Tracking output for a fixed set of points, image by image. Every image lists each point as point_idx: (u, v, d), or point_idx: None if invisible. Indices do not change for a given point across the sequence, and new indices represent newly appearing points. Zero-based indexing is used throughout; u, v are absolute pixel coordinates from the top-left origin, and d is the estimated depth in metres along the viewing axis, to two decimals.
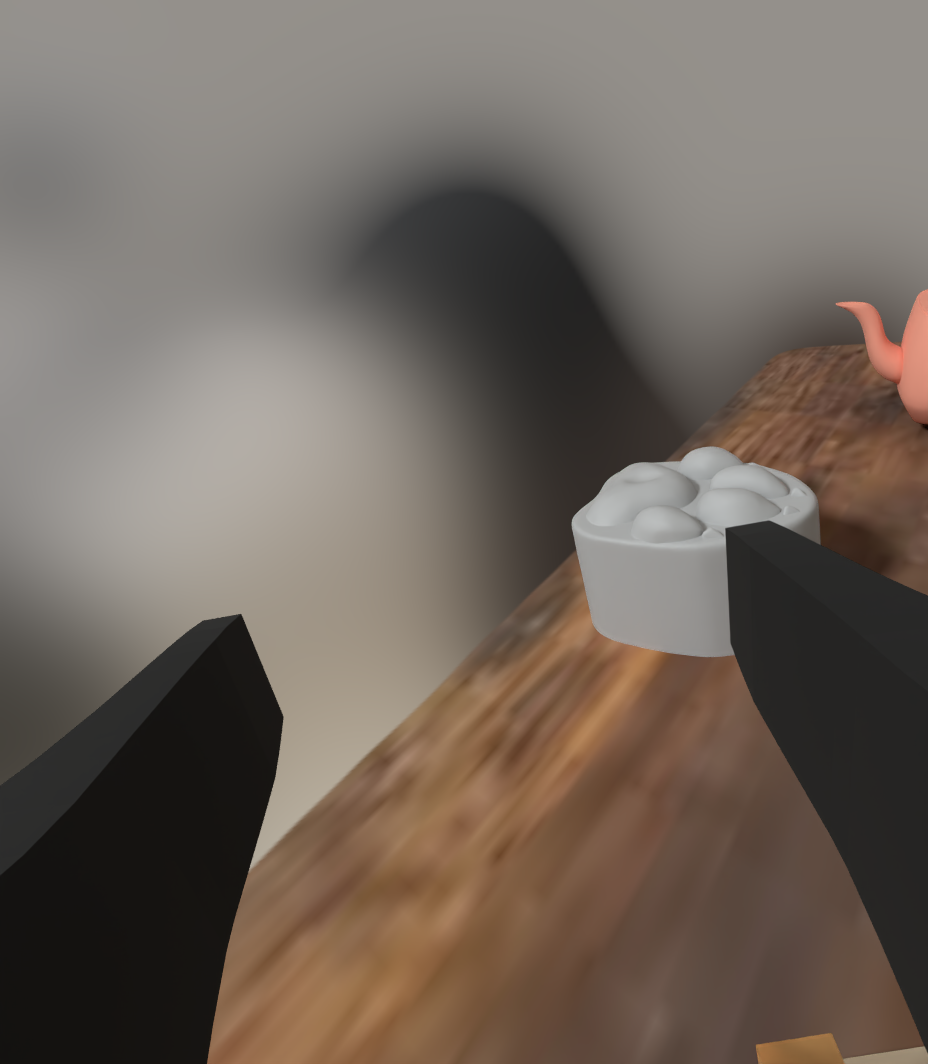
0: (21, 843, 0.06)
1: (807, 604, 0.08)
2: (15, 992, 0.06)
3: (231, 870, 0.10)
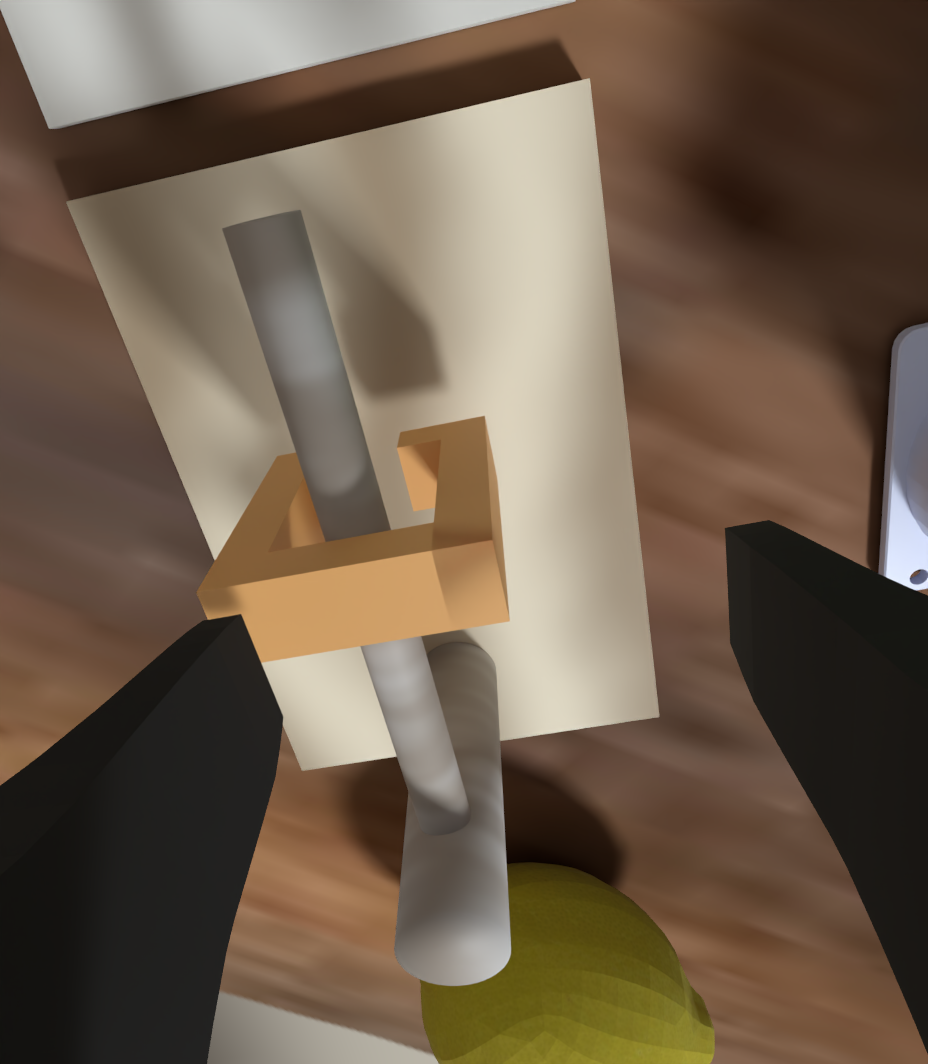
0: (21, 843, 0.06)
1: (807, 604, 0.08)
2: (15, 992, 0.06)
3: (231, 869, 0.10)
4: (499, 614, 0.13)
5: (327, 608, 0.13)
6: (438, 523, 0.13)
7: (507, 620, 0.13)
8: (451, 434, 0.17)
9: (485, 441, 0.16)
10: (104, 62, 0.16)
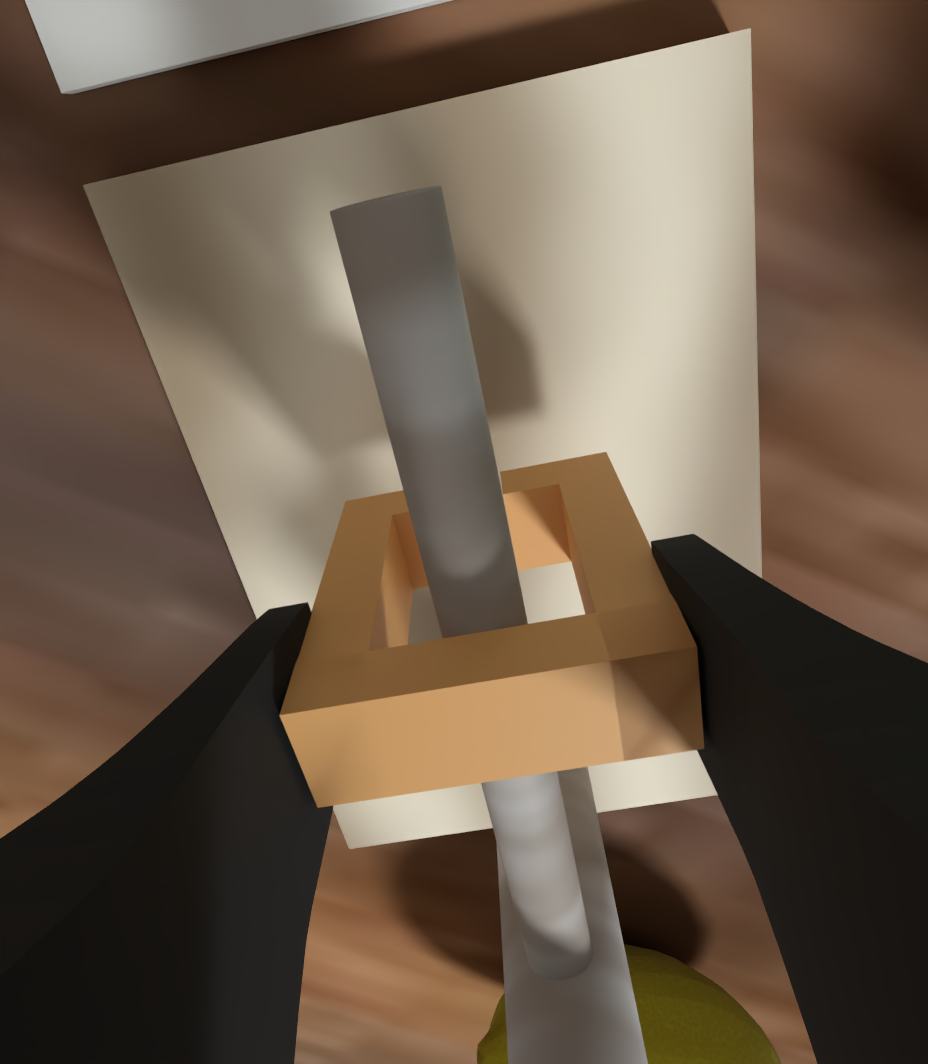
0: (133, 826, 0.06)
1: (710, 620, 0.08)
2: (137, 976, 0.06)
3: (308, 859, 0.10)
4: (691, 740, 0.09)
5: (457, 734, 0.09)
6: (603, 613, 0.10)
7: (700, 747, 0.09)
8: (570, 477, 0.13)
9: (621, 488, 0.12)
10: (132, 7, 0.13)
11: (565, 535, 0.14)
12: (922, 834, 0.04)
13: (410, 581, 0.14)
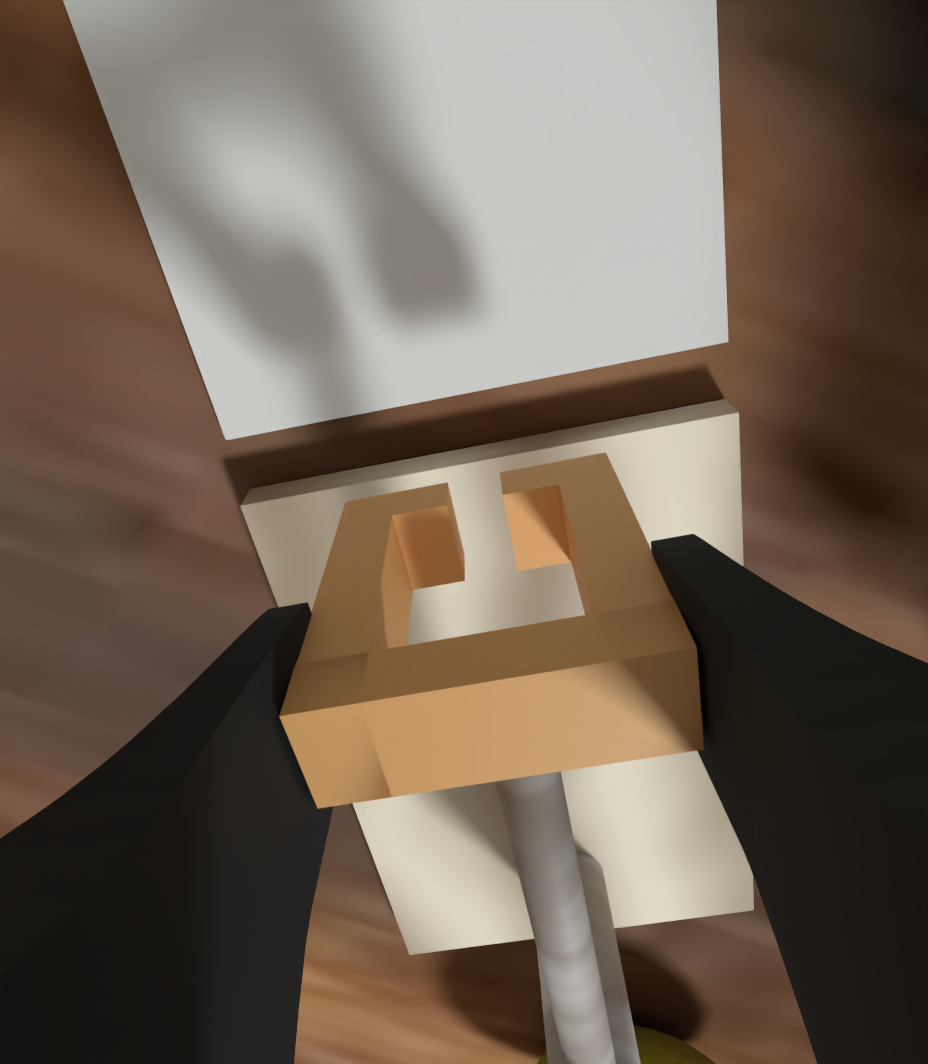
0: (133, 826, 0.06)
1: (710, 620, 0.08)
2: (138, 975, 0.06)
3: (308, 859, 0.10)
4: (691, 741, 0.09)
5: (457, 734, 0.09)
6: (602, 614, 0.10)
7: (701, 748, 0.09)
8: (570, 477, 0.13)
9: (621, 489, 0.12)
10: (284, 389, 0.18)
11: (565, 536, 0.14)
12: (922, 834, 0.04)
13: (410, 582, 0.14)
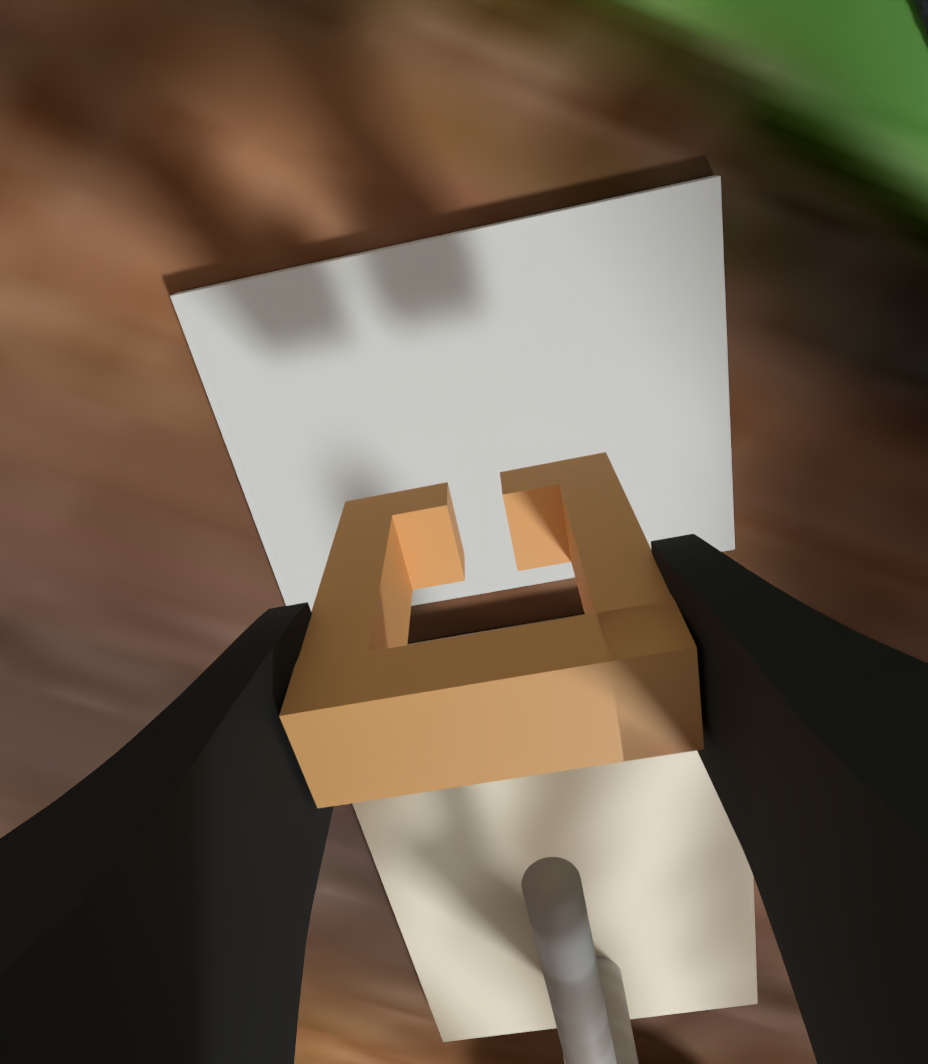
0: (133, 826, 0.06)
1: (710, 620, 0.08)
2: (137, 976, 0.06)
3: (308, 860, 0.10)
4: (691, 740, 0.09)
5: (457, 734, 0.09)
6: (602, 614, 0.10)
7: (700, 747, 0.09)
8: (570, 477, 0.13)
9: (621, 488, 0.12)
10: None
11: (565, 535, 0.14)
12: (922, 834, 0.04)
13: (410, 581, 0.14)
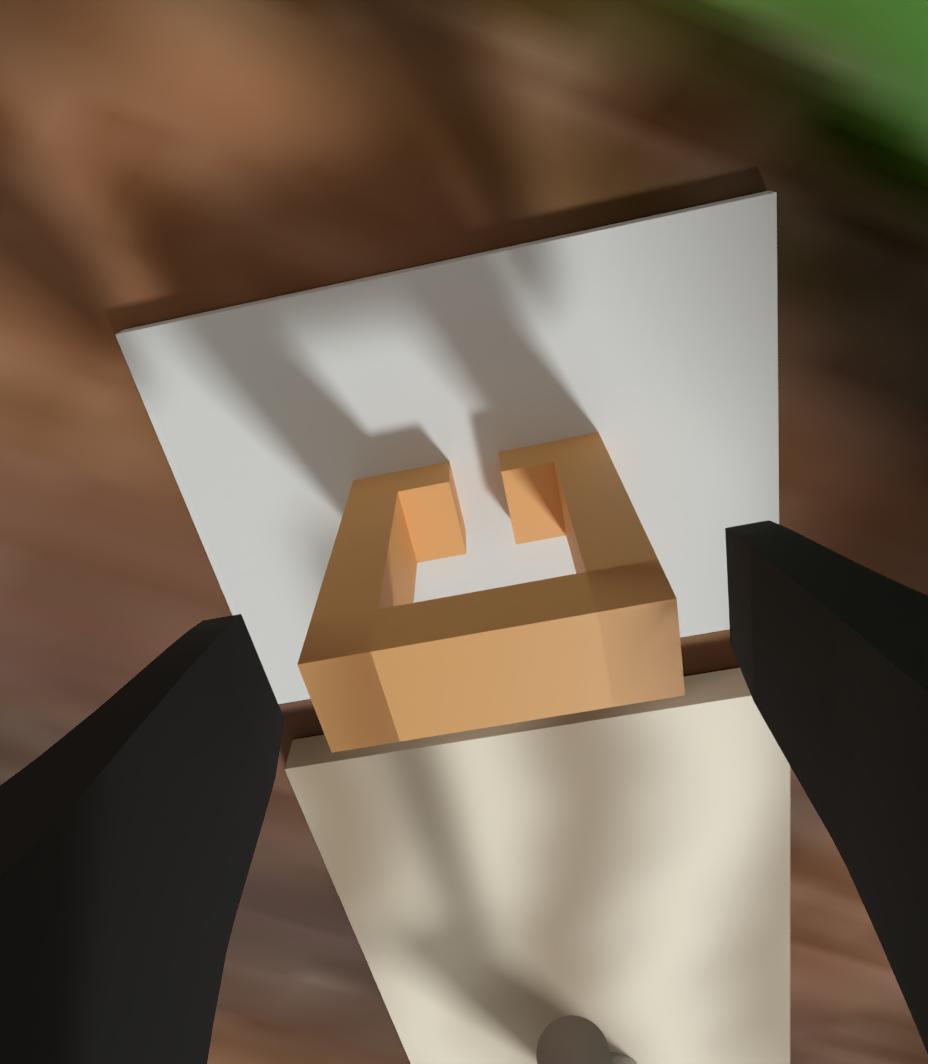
0: (21, 843, 0.06)
1: (807, 604, 0.08)
2: (15, 992, 0.06)
3: (231, 869, 0.10)
4: (673, 687, 0.10)
5: (459, 681, 0.10)
6: (593, 573, 0.10)
7: (682, 693, 0.10)
8: (564, 455, 0.14)
9: (612, 464, 0.13)
10: None
11: (560, 510, 0.14)
12: None
13: (414, 555, 0.15)
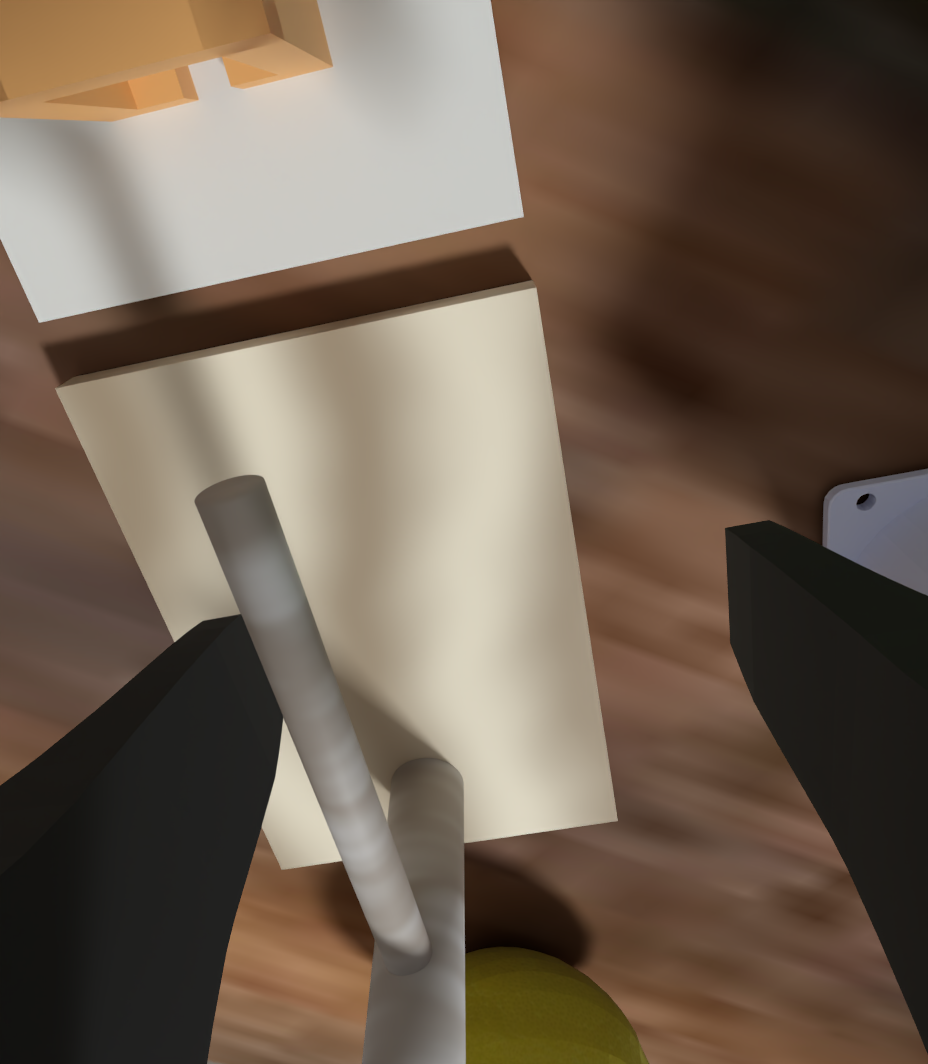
0: (21, 843, 0.06)
1: (807, 604, 0.08)
2: (15, 992, 0.06)
3: (232, 870, 0.10)
4: (256, 20, 0.11)
5: (48, 13, 0.10)
6: None
7: (269, 33, 0.11)
8: None
9: None
10: (90, 268, 0.18)
11: None
12: None
13: (132, 97, 0.15)
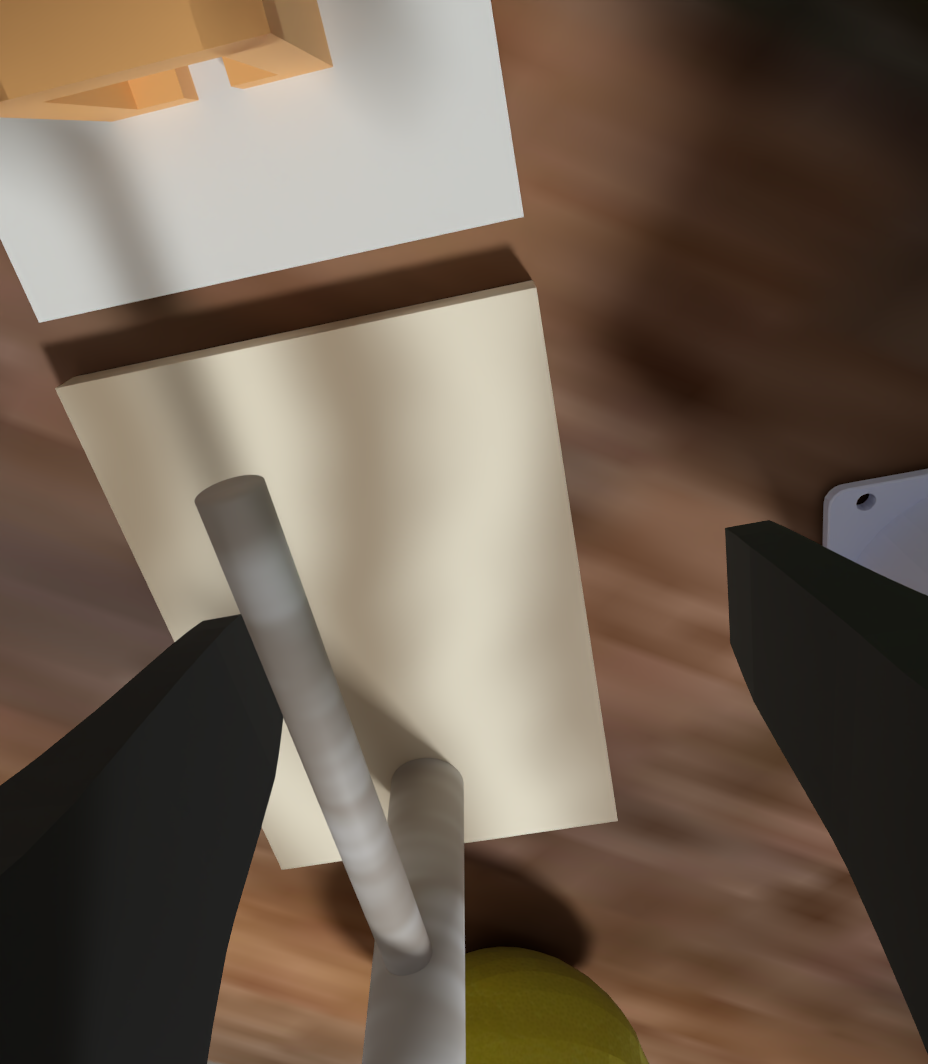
0: (21, 843, 0.06)
1: (807, 604, 0.08)
2: (15, 992, 0.06)
3: (232, 870, 0.10)
4: (256, 20, 0.11)
5: (48, 12, 0.10)
6: None
7: (269, 33, 0.11)
8: None
9: None
10: (90, 268, 0.18)
11: None
12: None
13: (133, 97, 0.15)
